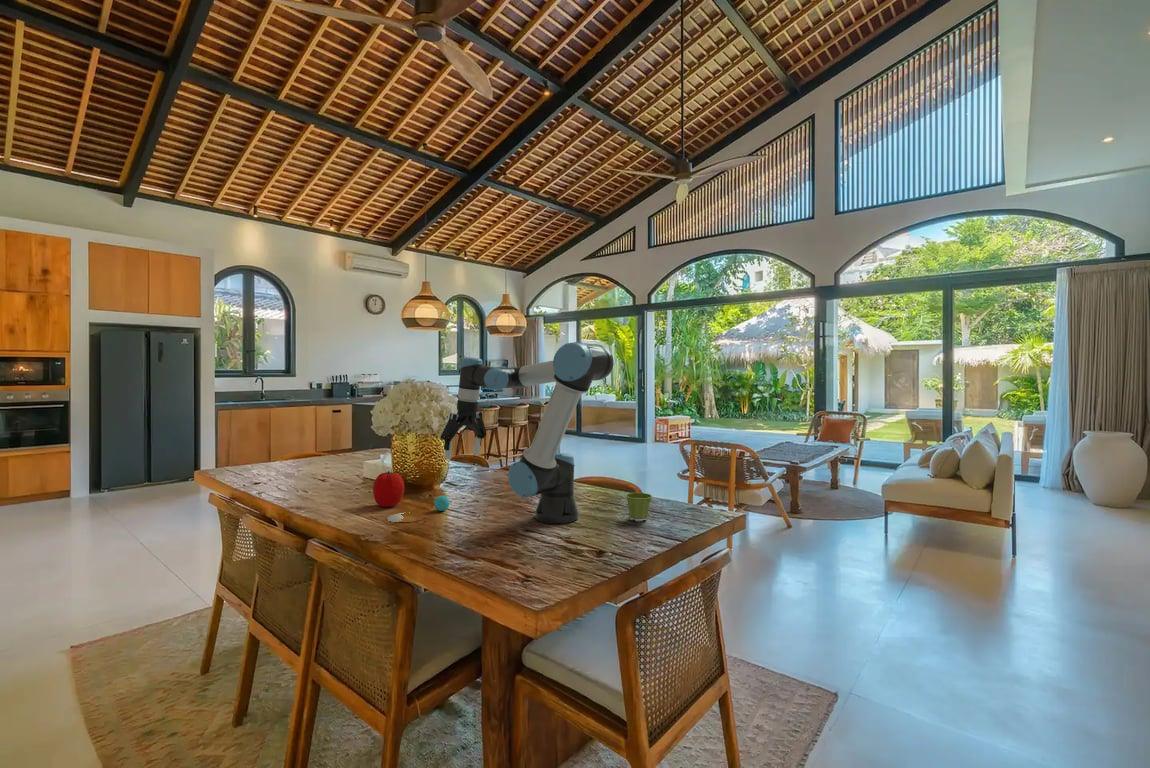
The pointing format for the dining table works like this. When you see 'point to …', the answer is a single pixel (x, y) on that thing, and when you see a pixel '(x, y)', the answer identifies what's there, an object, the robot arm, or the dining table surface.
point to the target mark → (395, 517)
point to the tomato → (388, 489)
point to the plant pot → (638, 505)
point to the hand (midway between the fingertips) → (462, 456)
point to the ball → (441, 503)
